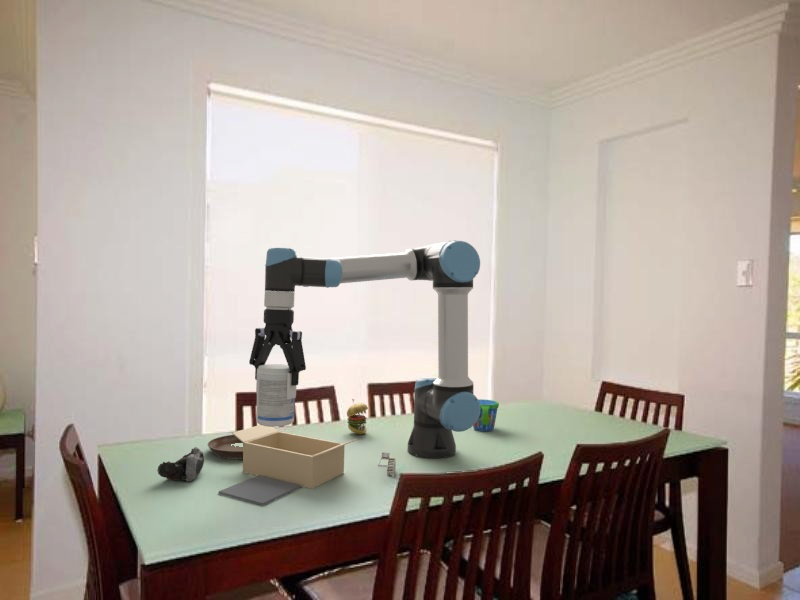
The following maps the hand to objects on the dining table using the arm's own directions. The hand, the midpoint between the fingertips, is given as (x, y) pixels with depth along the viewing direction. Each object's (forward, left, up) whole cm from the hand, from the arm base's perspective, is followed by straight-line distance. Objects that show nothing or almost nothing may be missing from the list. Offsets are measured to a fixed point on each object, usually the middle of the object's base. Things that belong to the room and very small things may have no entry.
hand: (275, 395), depth 144 cm
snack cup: (-26, -84, -23) cm, 91 cm away
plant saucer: (+26, -16, -23) cm, 38 cm away
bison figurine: (+23, +10, -23) cm, 34 cm away
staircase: (-21, -21, -23) cm, 38 cm away
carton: (+1, -9, -22) cm, 24 cm away
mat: (-1, +6, -22) cm, 23 cm away
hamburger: (+9, -53, -23) cm, 58 cm away
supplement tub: (0, 0, -7) cm, 7 cm away
